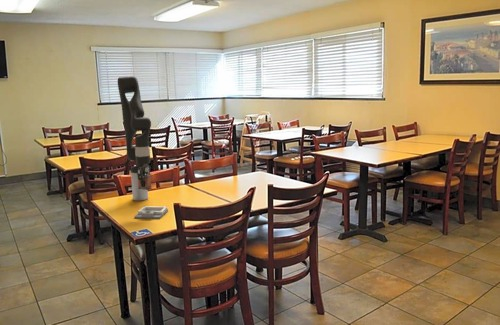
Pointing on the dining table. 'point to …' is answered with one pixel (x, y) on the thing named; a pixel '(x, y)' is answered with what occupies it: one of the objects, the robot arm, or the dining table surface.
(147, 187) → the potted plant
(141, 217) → the grey flat square tray
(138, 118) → the robot arm
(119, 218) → the dining table surface
